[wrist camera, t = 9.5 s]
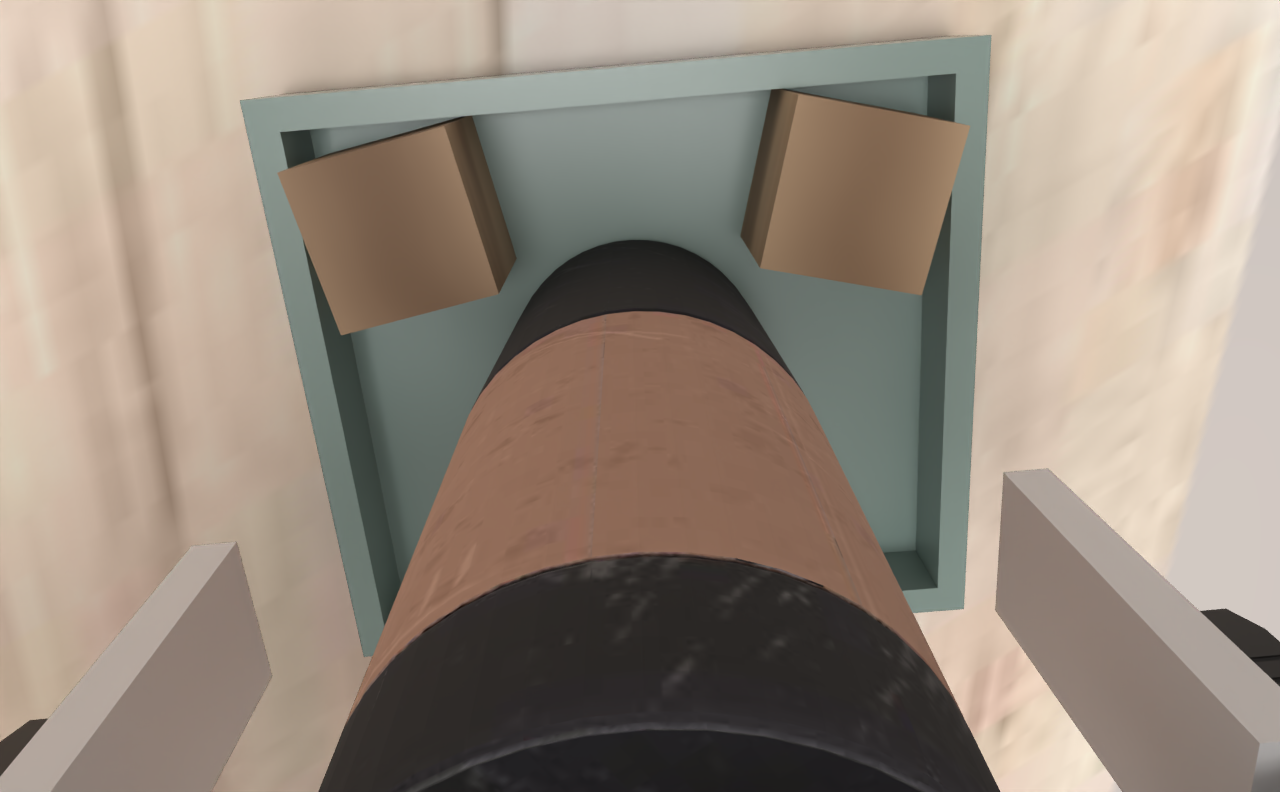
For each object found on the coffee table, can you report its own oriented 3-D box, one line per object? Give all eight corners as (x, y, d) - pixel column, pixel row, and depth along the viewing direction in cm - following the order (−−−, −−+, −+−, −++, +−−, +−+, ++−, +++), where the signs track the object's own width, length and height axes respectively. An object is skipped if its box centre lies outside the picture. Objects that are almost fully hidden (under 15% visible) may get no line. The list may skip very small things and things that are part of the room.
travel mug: (799, 259, 26) (1239, 792, 7) (732, 499, 29) (931, 1341, 10) (529, 201, 25) (266, 626, 7) (486, 452, 28) (206, 1261, 9)
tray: (387, 600, 31) (363, 656, 28) (282, 94, 25) (239, 100, 22) (932, 557, 31) (963, 608, 28) (949, 36, 25) (991, 35, 22)
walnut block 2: (740, 236, 26) (760, 267, 22) (772, 86, 25) (798, 94, 21) (879, 259, 26) (921, 295, 22) (918, 113, 25) (970, 125, 21)
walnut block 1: (381, 294, 26) (340, 335, 23) (328, 153, 25) (277, 172, 21) (516, 258, 26) (499, 294, 22) (471, 114, 25) (444, 126, 21)
